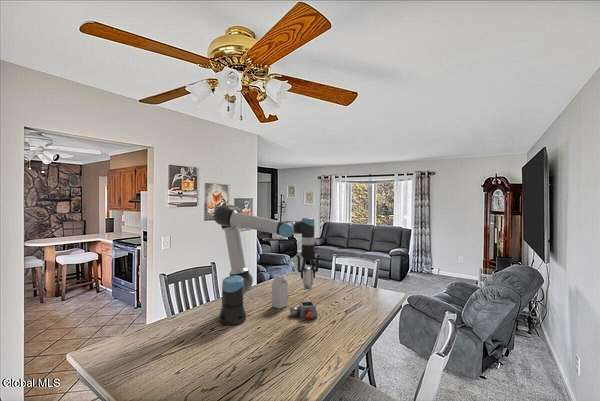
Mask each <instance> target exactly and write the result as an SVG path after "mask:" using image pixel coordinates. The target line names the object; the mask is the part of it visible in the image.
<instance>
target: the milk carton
mask: <svg viewBox="0 0 600 401" xmlns="http://www.w3.org/2000/svg"><path fill="white" fill-rule="evenodd" d="M287 306H288V281H287V280H286V279H285V277H284V276H279V275H275V277H274V279H273V280H272V282H271V307H273V308H276V309H279V310H280V309H283V308H285V307H287Z"/></svg>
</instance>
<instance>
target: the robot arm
mask: <svg viewBox="0 0 600 401" xmlns="http://www.w3.org/2000/svg"><path fill="white" fill-rule="evenodd" d="M213 221H215V224H218V225H219V226H220V227H221V230H223V231H224V234H225V239H226V246H227V252H228V259H229V263H230V269H231V270H230V271H229V273H228V274H229V276H227V277H225V278H223V279H222V283H221V308H220V311H219V314H218V323H219V324H221V325H224V326H236V325H240V324H243V323H244V322H245V321H246V320H247V313H246V309H245V307H244V295H245V294H246V293H247V292H248V291H249V290H250V289H251V287H252V286H253V283H254V282H253V275H252V274H251V273H250V269H249V268H248V267H247V266H246V262H245V261H246V260H245V256H244V250H243V243H242V239H241V232H240V229H241V228H245V229H249V230H255V231H260V232H265V233H270V234H275V235H278V236H282V237H283V238H289V237H292V236H293V235H301V252H300V254H296V259H297V272H298V273H299V274H300V279H301V280H302V282H301V283H302V285H303V286H304V277H305V273H304V268H305V267H306V263H307V261H309V262H310V266H311V268H312V285H314V279H315V278H316V272H319V258H320V255H319V254H318V253H316V252H315V229H316V228H315V227H316V225H315V219H314V218H313V217H302V218H301V220H300V221H298V220H297V221H296V220H283V221H280V220H276V219H271V218H266V217H262V216H256V215H252V214H247V213H242V211H241V210H240V208H239V207H238V206H236V205H232V204H228V205H220V206H218V207H216V208H215V210H214V212H213ZM301 258H302V263H301ZM313 258H315V264H314V260H313Z"/></svg>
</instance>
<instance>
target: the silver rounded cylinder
mask: <svg viewBox="0 0 600 401" xmlns="http://www.w3.org/2000/svg"><path fill="white" fill-rule="evenodd" d="M303 272H304V273H305V277H304V285H303V289H304V290H306V291H308V290H309V291H310V290H312V285H313V284H312V272H313V271H312V267H310V266H309V267H308V266H305V267H304V271H303Z"/></svg>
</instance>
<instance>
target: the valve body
mask: <svg viewBox="0 0 600 401" xmlns="http://www.w3.org/2000/svg"><path fill="white" fill-rule="evenodd" d="M316 307H317V306H316V303H315V304H314V301H313V300H312V301H311V300H309V301H308V300H307V301H299V306H297V307H289V308H290V309H289V315H290V317H297V316H298V317H299V319H306V320H308V321H311V320H313V319H316V318H318V310H317V308H316Z"/></svg>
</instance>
